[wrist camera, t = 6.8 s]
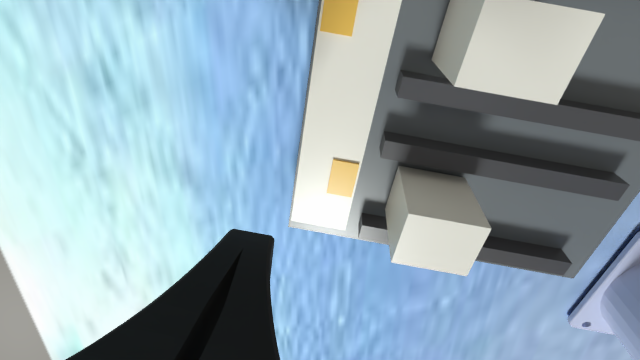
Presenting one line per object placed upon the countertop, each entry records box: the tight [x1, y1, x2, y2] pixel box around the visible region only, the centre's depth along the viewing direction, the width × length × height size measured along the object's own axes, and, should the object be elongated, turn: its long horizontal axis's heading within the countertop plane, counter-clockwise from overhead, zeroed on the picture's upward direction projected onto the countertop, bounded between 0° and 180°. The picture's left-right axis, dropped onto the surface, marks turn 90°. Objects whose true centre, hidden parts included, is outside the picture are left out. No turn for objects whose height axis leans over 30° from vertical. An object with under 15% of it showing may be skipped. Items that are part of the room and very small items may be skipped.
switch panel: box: [288, 0, 640, 278], centre depth 13 cm, size 15×21×3 cm
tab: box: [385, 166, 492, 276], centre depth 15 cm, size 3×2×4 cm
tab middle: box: [432, 0, 605, 105], centre depth 11 cm, size 3×2×4 cm
